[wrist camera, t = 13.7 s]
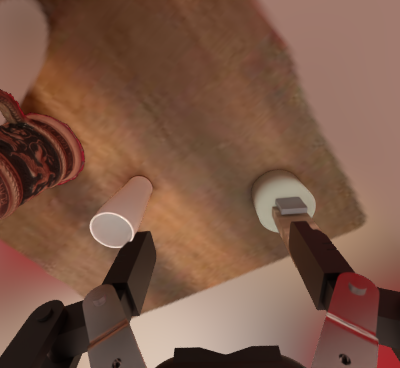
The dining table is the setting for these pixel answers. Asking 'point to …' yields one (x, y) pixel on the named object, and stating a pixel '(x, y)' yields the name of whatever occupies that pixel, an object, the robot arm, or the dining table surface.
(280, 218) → the brown wooden block
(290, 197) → the cream plug cylinder
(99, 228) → the drinking glass
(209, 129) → the dining table surface
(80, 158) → the beer stein
